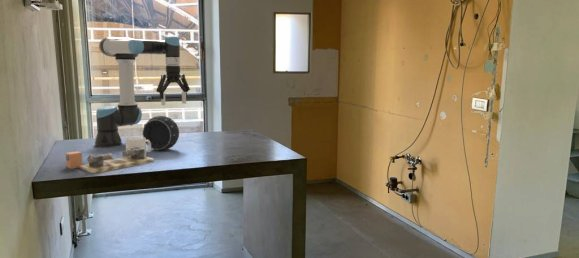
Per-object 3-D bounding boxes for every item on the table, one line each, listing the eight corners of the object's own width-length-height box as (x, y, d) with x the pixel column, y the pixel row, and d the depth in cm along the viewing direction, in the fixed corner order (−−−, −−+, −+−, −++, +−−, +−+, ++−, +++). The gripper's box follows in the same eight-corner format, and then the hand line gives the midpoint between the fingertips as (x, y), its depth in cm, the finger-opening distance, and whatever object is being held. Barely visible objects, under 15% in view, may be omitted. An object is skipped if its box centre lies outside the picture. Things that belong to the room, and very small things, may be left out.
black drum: (173, 153, 246) (172, 118, 243) (140, 151, 250) (139, 116, 246) (181, 149, 256) (180, 115, 253) (150, 147, 260) (149, 114, 257)
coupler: (66, 167, 212) (65, 153, 211) (78, 164, 216) (77, 151, 215) (70, 168, 209) (69, 154, 208) (82, 166, 214) (81, 152, 212)
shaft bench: (93, 173, 201) (92, 159, 200) (79, 168, 210) (78, 155, 209) (153, 161, 225) (153, 149, 224) (138, 157, 234) (138, 145, 233)
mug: (145, 153, 245) (144, 135, 243) (155, 156, 239) (154, 137, 237) (122, 157, 235) (121, 138, 233) (132, 160, 228) (131, 140, 227)
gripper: (156, 65, 225) (158, 106, 228) (195, 65, 244) (196, 103, 247) (148, 65, 230) (150, 105, 233) (187, 65, 249) (188, 102, 252)
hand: (173, 104), depth 240 cm, fingers open, 13 cm apart
